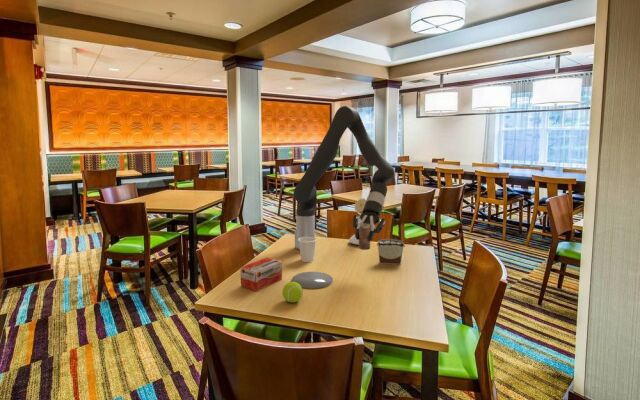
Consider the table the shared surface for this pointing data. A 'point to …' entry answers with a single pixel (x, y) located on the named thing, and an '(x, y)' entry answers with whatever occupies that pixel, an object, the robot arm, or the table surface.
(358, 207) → the flower in vase
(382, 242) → the food container
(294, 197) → the robot arm
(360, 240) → the pepper mill
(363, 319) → the table surface
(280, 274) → the medicine box
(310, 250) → the dixie cup
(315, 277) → the trivet
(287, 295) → the tennis ball
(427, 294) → the table surface
